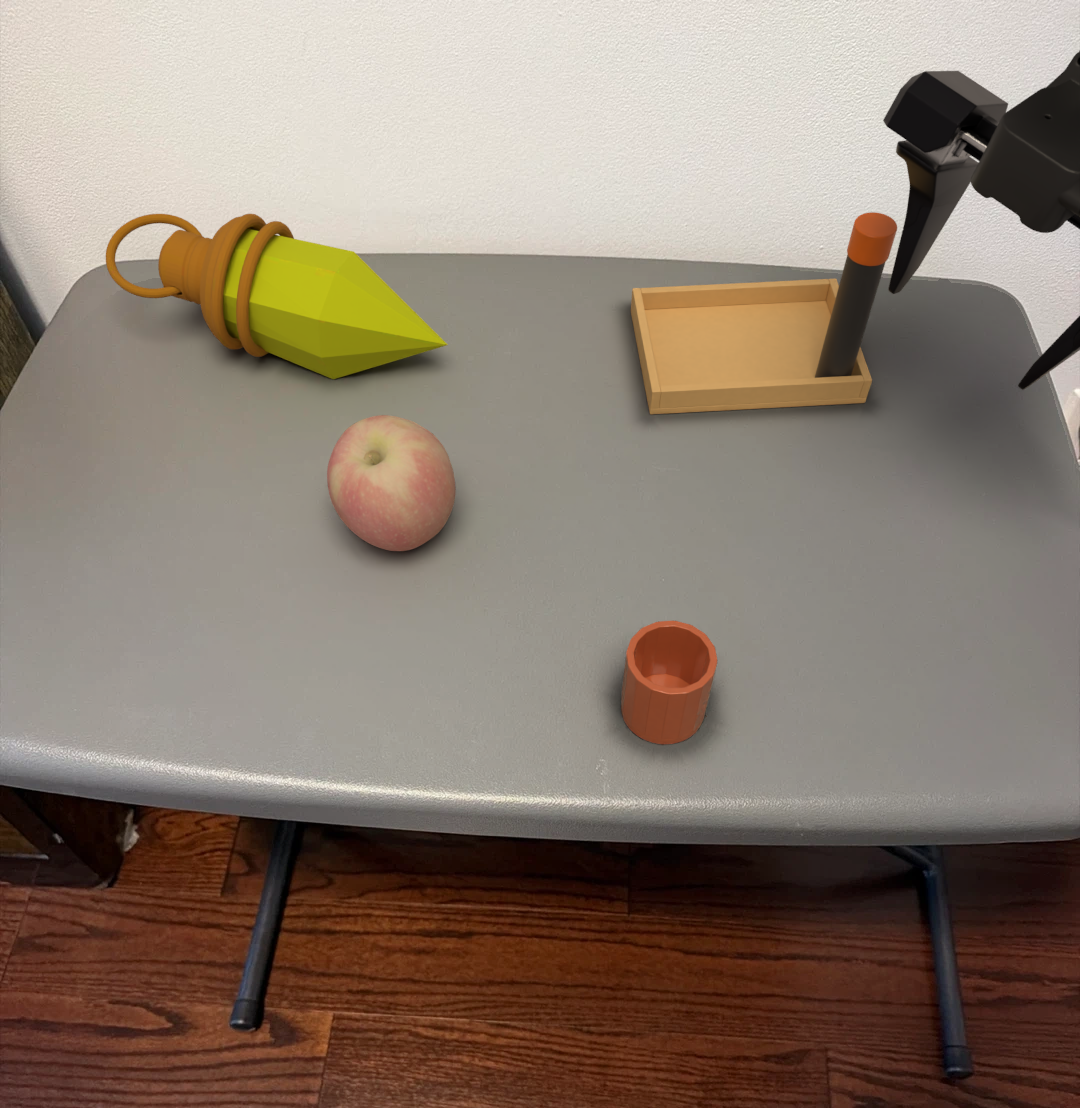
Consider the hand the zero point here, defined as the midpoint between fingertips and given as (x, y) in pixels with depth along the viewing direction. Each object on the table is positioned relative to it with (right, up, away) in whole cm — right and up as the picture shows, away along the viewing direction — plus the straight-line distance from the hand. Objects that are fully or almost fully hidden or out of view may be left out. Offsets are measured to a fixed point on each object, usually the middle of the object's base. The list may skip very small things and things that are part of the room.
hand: (956, 338), depth 61 cm
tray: (-9, +5, +17) cm, 20 cm away
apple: (-33, -9, +9) cm, 35 cm away
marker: (-3, +2, +15) cm, 16 cm away
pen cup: (-16, -21, +1) cm, 27 cm away
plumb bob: (-42, +6, +18) cm, 46 cm away
